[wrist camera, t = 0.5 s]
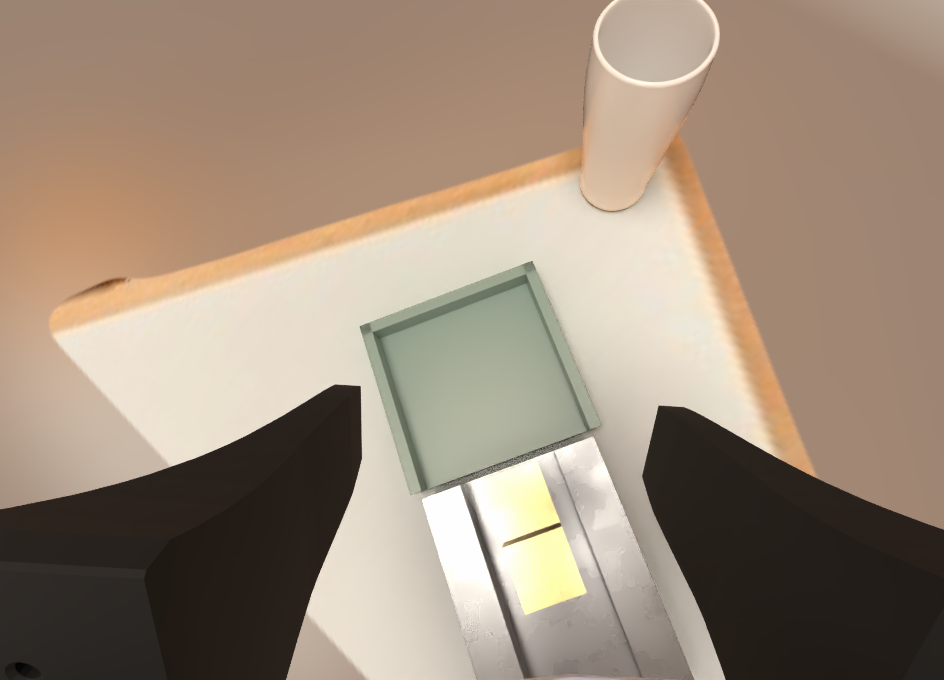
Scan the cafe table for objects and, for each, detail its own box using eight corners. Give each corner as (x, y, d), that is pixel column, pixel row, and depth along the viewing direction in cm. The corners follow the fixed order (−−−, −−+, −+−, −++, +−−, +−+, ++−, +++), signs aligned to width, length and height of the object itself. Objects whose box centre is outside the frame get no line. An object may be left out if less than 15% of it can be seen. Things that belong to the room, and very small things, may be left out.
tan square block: (582, 582, 32) (586, 592, 30) (525, 603, 32) (525, 614, 30) (559, 521, 33) (561, 526, 31) (504, 541, 33) (502, 548, 31)
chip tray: (595, 427, 36) (601, 425, 33) (420, 492, 37) (410, 495, 34) (532, 275, 40) (532, 260, 37) (372, 335, 40) (359, 326, 37)
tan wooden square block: (557, 517, 33) (560, 521, 31) (503, 537, 33) (500, 543, 31) (536, 460, 34) (536, 460, 32) (483, 479, 34) (479, 481, 32)
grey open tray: (681, 673, 32) (705, 707, 28) (510, 733, 32) (506, 775, 28) (585, 438, 36) (593, 436, 32) (434, 494, 36) (421, 499, 32)
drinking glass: (607, 237, 40) (651, 110, 25) (553, 181, 41) (565, 32, 27) (671, 188, 40) (751, 34, 25) (615, 134, 42) (660, -38, 27)
